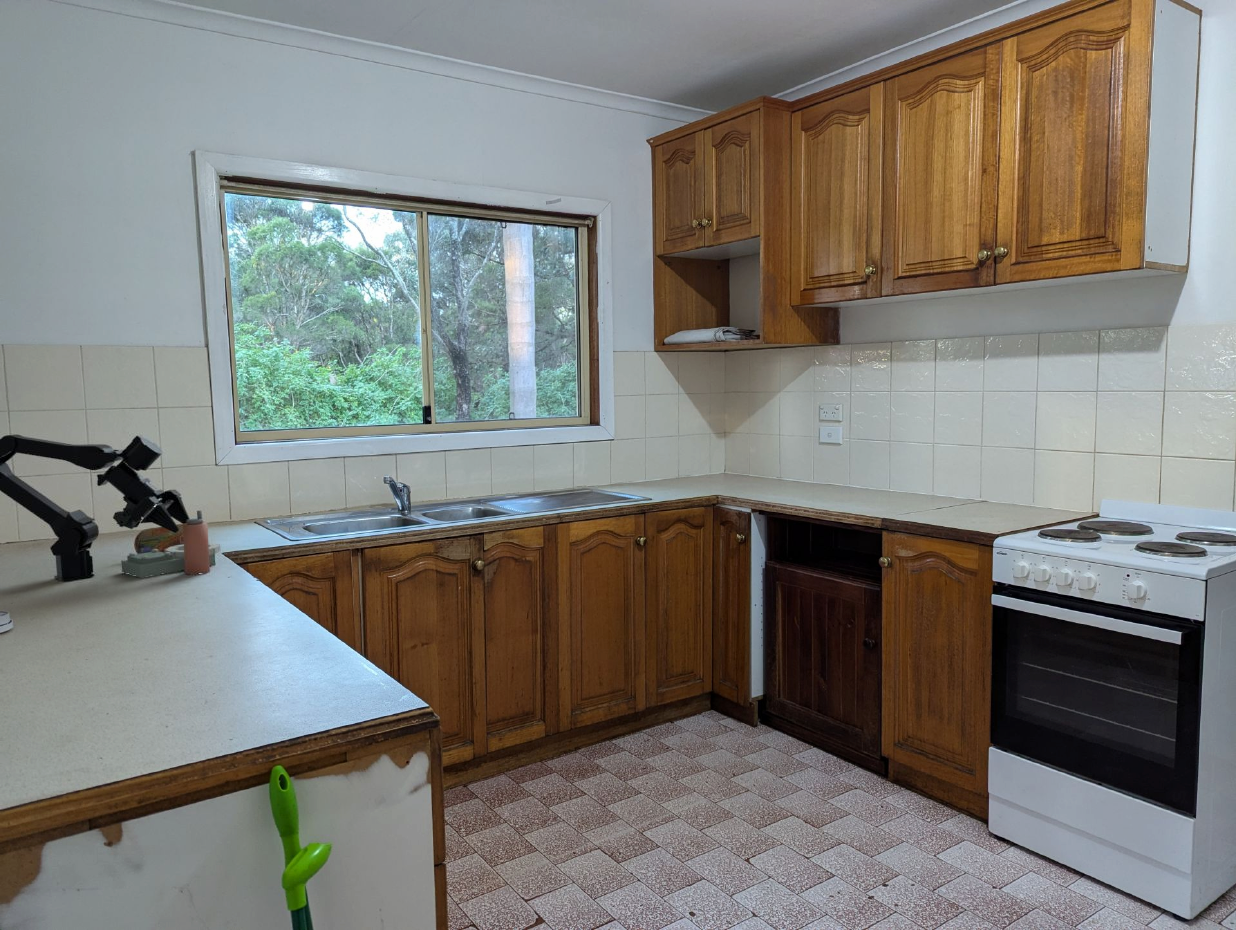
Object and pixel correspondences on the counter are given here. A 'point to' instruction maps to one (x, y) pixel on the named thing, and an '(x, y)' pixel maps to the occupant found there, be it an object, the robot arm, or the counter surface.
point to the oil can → (196, 545)
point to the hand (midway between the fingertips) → (184, 528)
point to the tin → (158, 539)
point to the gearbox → (161, 561)
